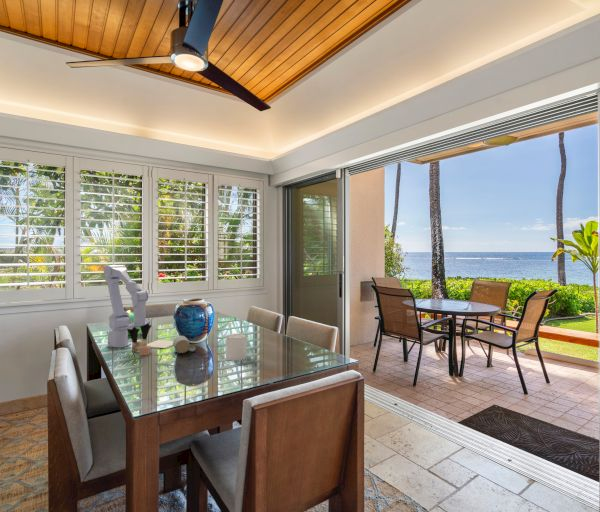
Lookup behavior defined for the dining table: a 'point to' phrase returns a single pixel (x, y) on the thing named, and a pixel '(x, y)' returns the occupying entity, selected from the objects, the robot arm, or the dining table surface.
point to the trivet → (160, 344)
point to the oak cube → (138, 345)
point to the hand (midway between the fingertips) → (139, 340)
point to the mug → (236, 346)
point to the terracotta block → (145, 350)
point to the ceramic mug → (182, 344)
